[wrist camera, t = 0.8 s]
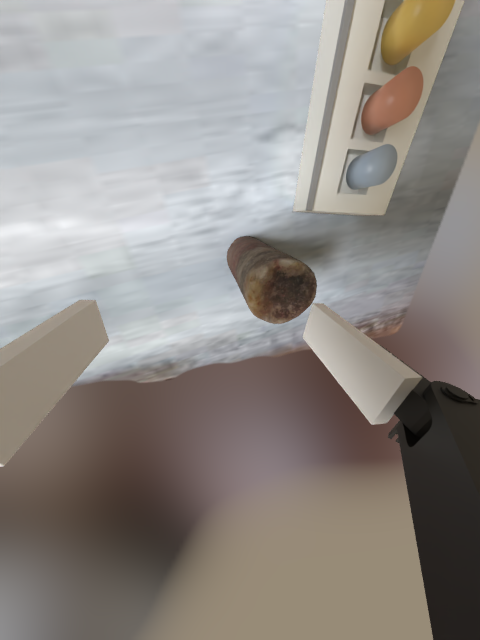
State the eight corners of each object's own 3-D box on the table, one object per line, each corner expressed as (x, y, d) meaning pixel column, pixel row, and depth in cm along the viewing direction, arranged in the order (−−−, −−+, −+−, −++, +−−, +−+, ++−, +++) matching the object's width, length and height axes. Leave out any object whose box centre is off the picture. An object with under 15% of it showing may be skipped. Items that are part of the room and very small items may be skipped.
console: (326, -5, 21) (361, -70, 16) (425, 20, 23) (481, -32, 18) (292, 211, 32) (307, 210, 27) (362, 215, 34) (387, 215, 29)
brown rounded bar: (270, 263, 36) (327, 304, 19) (240, 283, 37) (266, 339, 20) (252, 227, 32) (301, 236, 15) (218, 250, 33) (228, 284, 16)
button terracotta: (368, 87, 22) (398, 62, 18) (396, 92, 22) (430, 69, 19) (356, 132, 24) (381, 118, 20) (382, 136, 24) (411, 122, 21)
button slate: (351, 153, 25) (374, 142, 21) (376, 155, 25) (403, 145, 22) (342, 188, 27) (361, 184, 23) (365, 190, 27) (388, 186, 24)
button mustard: (390, 2, 19) (430, -47, 15) (422, 10, 19) (467, -35, 16) (375, 61, 21) (407, 30, 17) (404, 67, 21) (441, 38, 18)
